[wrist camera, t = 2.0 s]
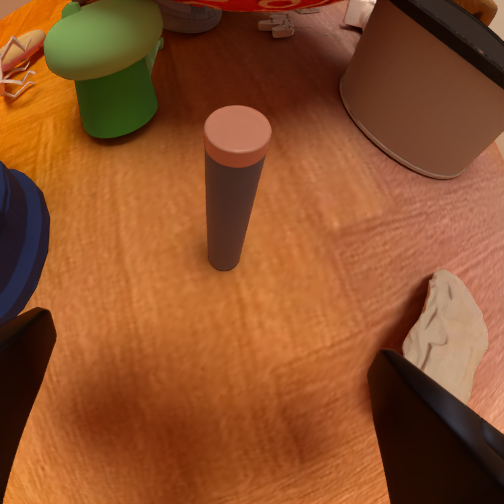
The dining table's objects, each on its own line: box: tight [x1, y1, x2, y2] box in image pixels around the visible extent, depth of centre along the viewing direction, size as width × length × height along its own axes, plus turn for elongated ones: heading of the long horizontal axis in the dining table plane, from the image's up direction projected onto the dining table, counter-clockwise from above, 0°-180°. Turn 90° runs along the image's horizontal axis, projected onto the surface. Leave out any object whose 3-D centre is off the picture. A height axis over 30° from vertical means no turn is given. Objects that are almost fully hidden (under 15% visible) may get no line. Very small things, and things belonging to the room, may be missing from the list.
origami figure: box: [0, 36, 36, 98], centre depth 23 cm, size 12×8×5 cm
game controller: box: [258, 14, 341, 41], centre depth 33 cm, size 6×12×3 cm, turn 111°
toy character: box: [44, 0, 164, 138], centre depth 21 cm, size 10×18×13 cm, turn 9°
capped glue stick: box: [204, 105, 272, 271], centre depth 15 cm, size 2×2×13 cm
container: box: [340, 0, 504, 179], centre depth 23 cm, size 19×19×15 cm
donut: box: [0, 30, 46, 72], centre depth 26 cm, size 10×5×9 cm
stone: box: [402, 269, 489, 406], centre depth 18 cm, size 8×5×15 cm
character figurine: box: [343, 0, 376, 31], centre depth 33 cm, size 9×10×12 cm
